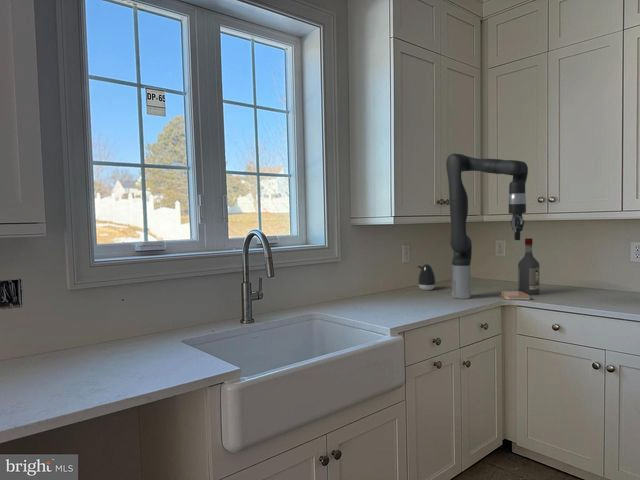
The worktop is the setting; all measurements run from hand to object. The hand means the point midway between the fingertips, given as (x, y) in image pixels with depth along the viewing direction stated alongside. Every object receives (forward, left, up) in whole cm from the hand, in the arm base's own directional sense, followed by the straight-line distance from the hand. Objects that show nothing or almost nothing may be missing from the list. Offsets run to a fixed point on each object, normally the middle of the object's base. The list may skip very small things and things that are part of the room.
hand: (517, 240), depth 205 cm
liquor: (+16, +33, -31) cm, 48 cm away
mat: (+5, +20, -31) cm, 38 cm away
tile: (+5, +13, -30) cm, 33 cm away
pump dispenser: (-37, +46, -31) cm, 67 cm away
